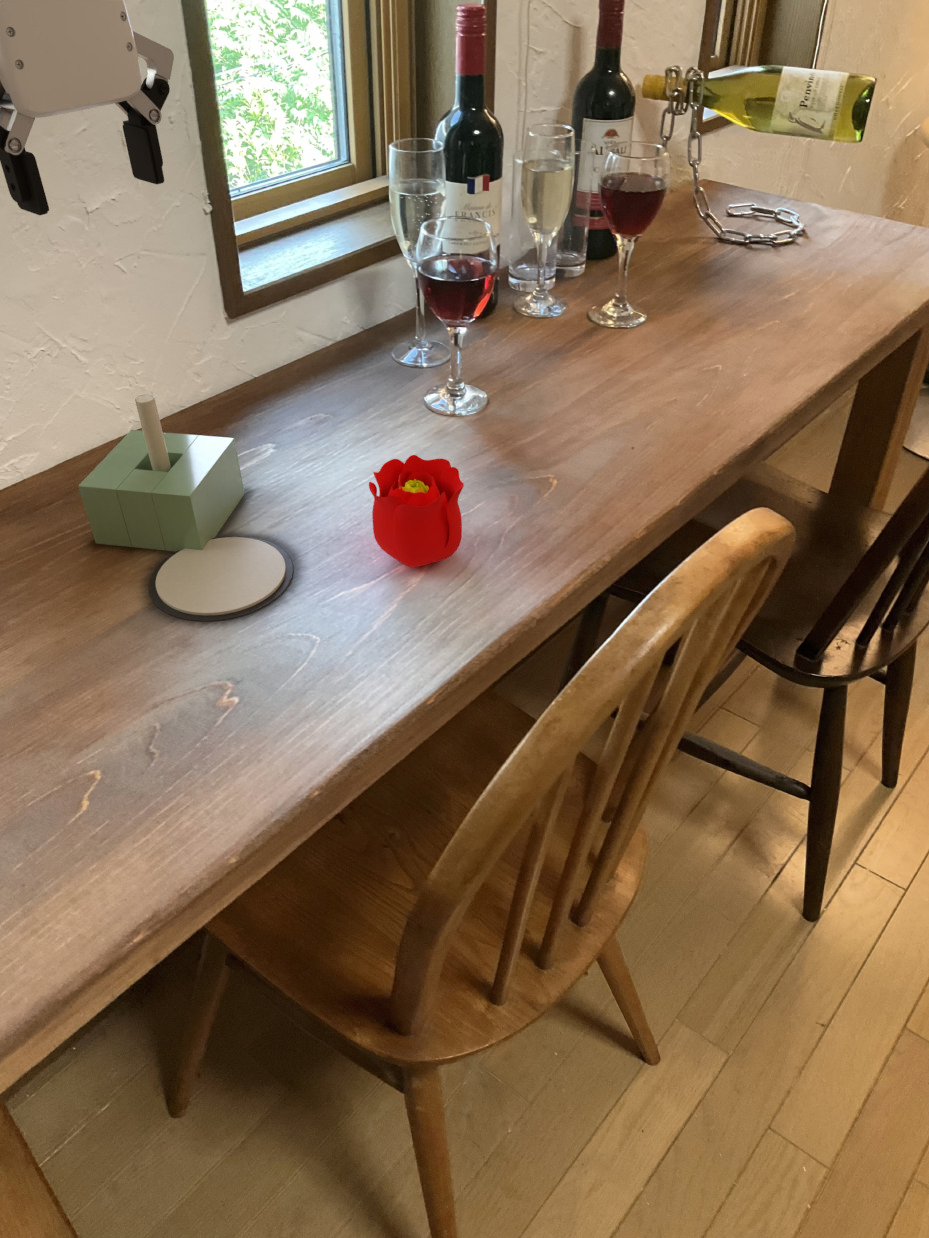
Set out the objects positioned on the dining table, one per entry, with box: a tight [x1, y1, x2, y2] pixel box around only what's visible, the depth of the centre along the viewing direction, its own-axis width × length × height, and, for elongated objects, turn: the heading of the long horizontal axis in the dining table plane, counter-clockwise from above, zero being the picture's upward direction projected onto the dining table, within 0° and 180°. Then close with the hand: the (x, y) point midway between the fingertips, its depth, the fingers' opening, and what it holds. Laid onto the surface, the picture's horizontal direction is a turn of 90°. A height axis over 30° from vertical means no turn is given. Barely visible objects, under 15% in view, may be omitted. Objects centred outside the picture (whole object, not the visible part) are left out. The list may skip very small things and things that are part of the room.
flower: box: [368, 454, 465, 568], centre depth 81 cm, size 8×8×8 cm
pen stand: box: [77, 429, 246, 553], centre depth 87 cm, size 10×10×6 cm
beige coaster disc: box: [148, 535, 294, 623], centre depth 81 cm, size 12×12×1 cm
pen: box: [134, 393, 171, 472], centre depth 85 cm, size 2×2×12 cm
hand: (94, 195), depth 71 cm, fingers open, 9 cm apart
